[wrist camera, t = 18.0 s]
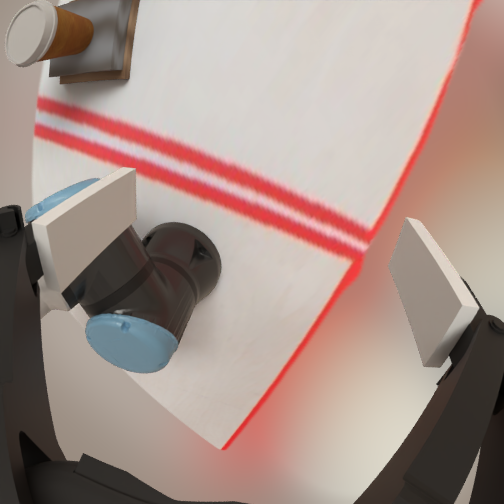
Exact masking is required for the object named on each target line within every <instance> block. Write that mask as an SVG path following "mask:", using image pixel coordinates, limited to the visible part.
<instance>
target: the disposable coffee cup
mask: <svg viewBox="0 0 504 504" xmlns="http://www.w3.org/2000/svg"><path fill="white" fill-rule="evenodd" d="M93 33H94V27H93V24H92V22H91V21H90V20H89V19H88V18H85V17H82V16H80V15H77V14H75V13H72V12H70V11H67V10H64V9H62V8H59V7H56V6H53V5H52V4H51V3H50V2H49V1H46V0H38V1H35V2H33V3H29V4H27V5H25V6H24V7H22V8H21V9H20V10H19V11H18V12H17V13H16V15H15V16H14V18H13V19H12V21H11V23H10V25H9V27H8V30H7V33H6V37H5V53H6V56H7V58H8V60H9V61H10V62H12V63H13V64H16V65H17V66H19V67H27V66H30V65H32V64H34V63H35V62H39V61H43V60H48V59H53V58H58V57H64V56H69V55H76V54H79V53H81V52H82V51H84V50H85V49H86V48H87V47H88V45H89V44H90V42H91V40H92V37H93Z"/></svg>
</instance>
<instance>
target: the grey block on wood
mask: <svg viewBox="0 0 504 504" xmlns="http://www.w3.org/2000/svg"><path fill="white" fill-rule="evenodd" d="M139 1H140V0H74V1H71V2H70V3H67V4H64V5H61V6H58V7H59V8H62V9H64V10H67V11H70V12H72V13H75V14H77V15H80V16H82V17H85V18H88V19H89V20H90V21H91V22H92V24H93V27H94V33H93V37H92V40H91V42H90V44H89V45H88V47H87V48H86V49H85V50H84V51H82V52H81V53H79V54H76V55H69V56H64V57H58V58H53V59H50V70H49V77H57V76H60V84H68V83H76V82H86V81H98V80H113V79H129V77H130V66H131V57H132V48H133V40H134V33H135V26H136V19H137V13H138V7H139Z"/></svg>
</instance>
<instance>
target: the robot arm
mask: <svg viewBox="0 0 504 504" xmlns="http://www.w3.org/2000/svg"><path fill="white" fill-rule="evenodd" d="M25 218H26V219H25V221H26V223H28V225H27V226H25V227H24V223H23V218H22V212H21V207H20V206H18V205H9V206H5V207H2V208H0V504H247V503H241V502H235V501H232V502H231V501H230V502H190V501H189V502H188V501H177V500H173V499H171V498H169V497H167V496H166V495H164V494H162V493H160V492H159V491H157V490H155V489H154V488H152V487H150V486H149V485H147V484H145V483H144V482H142V481H140V480H139V479H137V478H136V477H134V476H133V475H131V474H130V473H128V472H126V471H124V470H121V469H119V468H116V467H113V466H111V465H109V464H106V463H104V462H102V461H99V460H97V459H95V458H93V457H90V456H88V455H86V454H84V453H83V455H82V457H81V459H80V461H79V462H78V461H67V460H66V458H65V456H64V454H63V452H62V450H61V448H60V447H59V445H58V442H57V439H56V435H55V431H54V426H53V421H52V416H51V411H50V406H49V400H48V393H47V387H46V380H45V371H44V362H43V352H42V341H41V340H42V339H41V321H40V319H42V318H43V317H44V316H45V315H46V314H47V313H48V312H50V311H51V310H55V309H56V310H64V311H69V310H71V309H72V308H73V307H74V306H75V305H77V304H78V303H79V304H80V305H81V306H82V308H83V309H84V310H85V312H86V313H87V314H88V316H89V317H90V319H89V320H88V322H87V325H86V330H85V332H86V335H87V340H88V342H89V344H90V345H91V347H92V348H93V349H94V350H95V351H96V352H97V353H98V354H99V355H100V356H101V357H103V358H104V359H105V360H106V361H108V362H110V363H111V364H113V365H115V366H117V367H119V368H122V369H125V370H128V371H131V372H136V373H153V372H157V371H159V370H161V369H163V368H164V367H165V366H166V365H167V364H168V362H169V361H170V359H171V357H172V355H173V353H174V352H175V351H176V350H177V348H178V345H179V342H180V340H181V337H182V335H183V333H184V330H185V328H186V326H187V323H188V321H189V319H190V316H191V314H192V312H193V309H194V307H195V305H196V304H197V303H199V302H200V301H201V300H202V299H203V298H205V297H206V296H207V295H208V294H210V293H211V291H212V290H213V289H214V287H215V286H216V283H217V281H218V279H219V276H220V273H221V260H220V256H219V253H218V251H217V249H216V247H215V245H214V244H213V243H212V241H211V240H210V239H209V238H208V237H207V236H206V235H205V234H204V233H202V232H201V231H200V230H198V229H196V228H194V227H192V226H190V225H187V224H184V223H178V222H169V223H164V224H161V225H158V226H157V227H155V228H153V229H152V230H151V231H150V232H149V233H148V234H147V235H146V236H145V238H144V239H143V240H142V242H141V240H140V239H139V237H138V235H137V234H136V232H135V230H134V228H133V227H132V225H131V224H132V223H133V222H134V221H135V220H136V219H137V216H136V169H135V168H126V167H122V168H120V169H118V170H117V171H115V172H113V173H111V174H109V175H107V176H106V177H104V178H102V179H99V178H92V179H88V180H85V181H82V182H79V183H77V184H74V185H72V186H69V187H67V188H65V189H63V190H61V191H59V192H57V193H55V194H53V195H51V196H49V197H47V198H46V199H44V201H41V202H40V203H38V204H36V205H34V206H33V207H31V208H30V209H29V210H28V211H27V212H26V214H25ZM388 267H389V270H390V272H391V274H392V277H393V280H394V282H395V285H396V287H397V290H398V292H399V295H400V298H401V300H402V303H403V306H404V309H405V311H406V314H407V317H408V320H409V323H410V325H411V329H412V332H413V334H414V338H415V341H416V343H417V347H418V350H419V353H420V356H421V359H422V363H423V366H424V367H441V366H442V365H443V363H444V362H445V360H446V359H447V358H448V356H450V359H451V362H452V364H451V366H450V367H449V368H448V370H447V371H446V372H445V374H444V375H443V376H442V378H441V379H440V380H439V381H438V383H437V385H438V388H437V390H436V391H435V393H434V395H433V397H432V398H431V400H430V402H429V403H428V405H427V407H426V408H425V410H424V411H423V413H422V415H421V416H420V418H419V419H418V421H417V423H416V424H415V426H414V427H413V429H412V430H411V432H410V433H409V434H408V436H407V438H406V439H405V440H404V442H403V443H402V445H401V446H400V447H399V449H398V450H397V451H396V453H395V454H394V455H393V457H392V458H391V460H390V461H389V462H388V463H387V465H386V466H385V467H384V469H383V470H382V471H381V472H380V473H379V475H378V476H377V477H376V478H375V480H374V481H373V482H372V483H371V484H370V486H369V487H368V488H367V489H366V490H365V491H364V492H363V494H362V495H361V496H360V497H359V498H358V499H357V500H356V501H355V502H354V504H454V502H455V500H456V499H457V497H458V495H459V493H460V491H461V489H462V487H463V485H464V483H465V481H466V478H467V477H468V474H469V472H470V470H471V468H472V466H473V463H474V461H475V458H476V456H477V454H478V451H479V449H480V447H481V449H480V455H479V462H478V466H477V472H476V477H475V481H474V486H473V490H472V494H471V498H470V502H469V504H504V323H503V322H502V321H501V320H500V319H499V318H497V317H495V316H492V315H486V313H485V311H484V310H483V308H482V306H481V305H480V303H479V301H478V300H477V298H475V295H474V293H473V292H472V291H471V289H470V287H469V285H468V284H467V283H466V281H464V279H462V278H461V277H460V276H459V275H458V273H457V272H456V270H455V269H454V267H453V266H452V264H451V263H450V261H449V260H448V259H447V257H446V256H445V254H444V253H443V251H442V250H441V249H440V247H439V246H438V244H437V243H436V242H435V240H434V239H433V238H432V237H431V235H430V234H429V232H428V231H427V230H426V228H425V227H424V226H423V224H422V223H421V222H420V221H419V220H416V219H412V218H408V217H406V218H405V221H404V224H403V227H402V230H401V233H400V235H399V239H398V241H397V244H396V247H395V249H394V252H393V255H392V257H391V260H390V263H389V265H388Z"/></svg>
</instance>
